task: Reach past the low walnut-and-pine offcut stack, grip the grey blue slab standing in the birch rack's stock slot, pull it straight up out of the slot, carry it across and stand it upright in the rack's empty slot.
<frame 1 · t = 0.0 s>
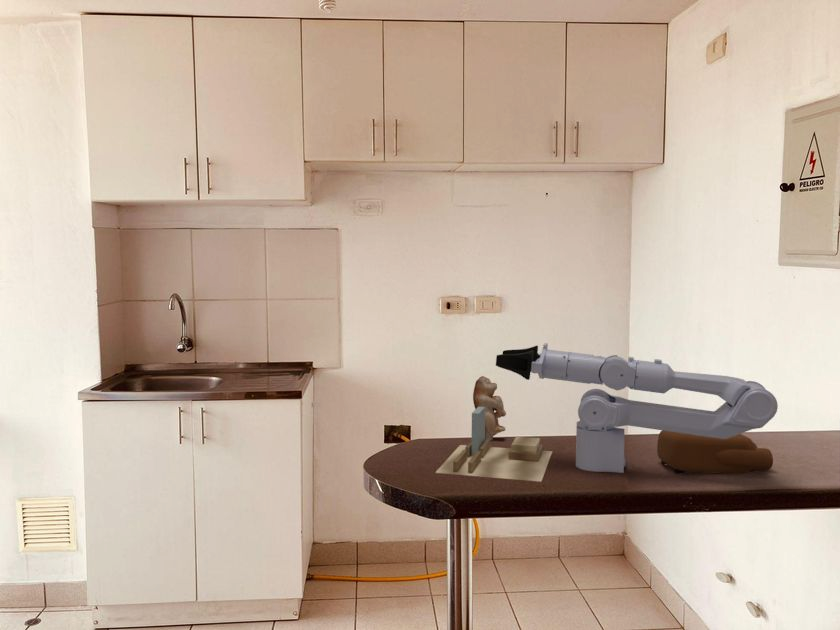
hand: (499, 357, 144), 22 cm above the table, tool horizontal, fingers open, 7 cm apart
toy: (711, 469, 143), on the table
offcut top: (525, 448, 148), point 2 cm above the table, touching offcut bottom
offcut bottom: (525, 455, 148), point 1 cm above the table, touching offcut top, rack
figurine: (489, 443, 163), on the table
rack: (496, 466, 144), on the table
grey blue slab: (478, 452, 151), point 1 cm above the table, touching rack
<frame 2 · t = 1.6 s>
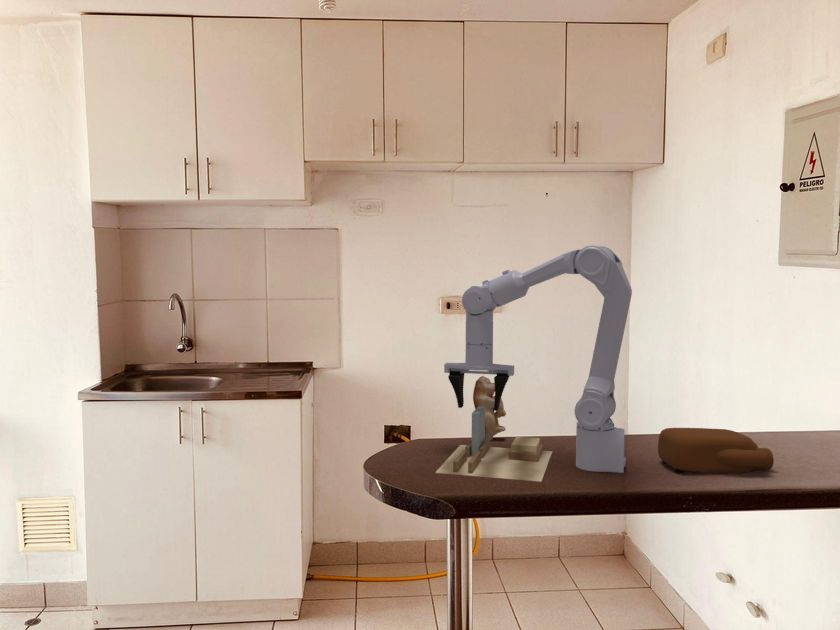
hand: (478, 408, 150), 10 cm above the table, tool pointing down, fingers open, 7 cm apart
nothing on the table moved.
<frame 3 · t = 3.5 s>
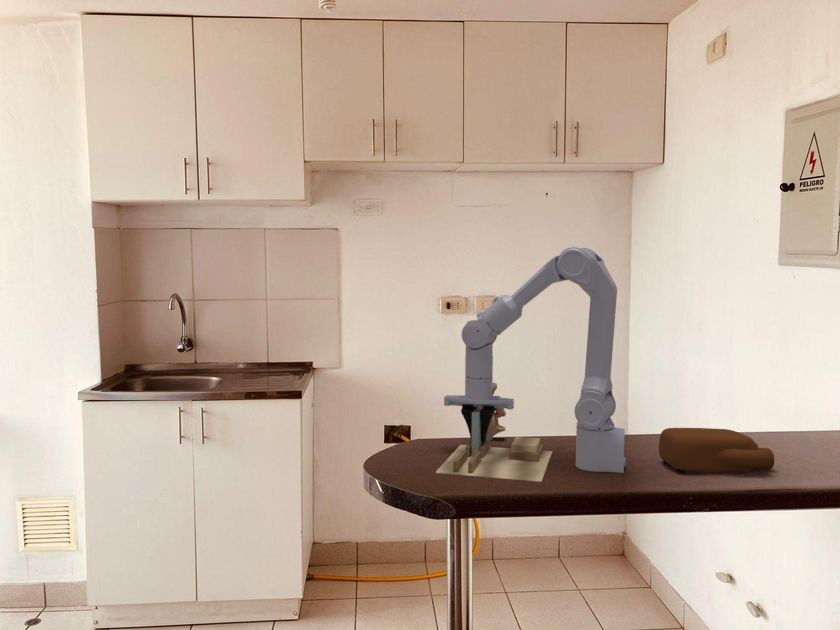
hand: (478, 440, 151), 3 cm above the table, tool pointing down, fingers closed on grey blue slab, 1 cm apart
grey blue slab: (478, 452, 151), point 1 cm above the table, touching gripper, rack
everything else where it was.
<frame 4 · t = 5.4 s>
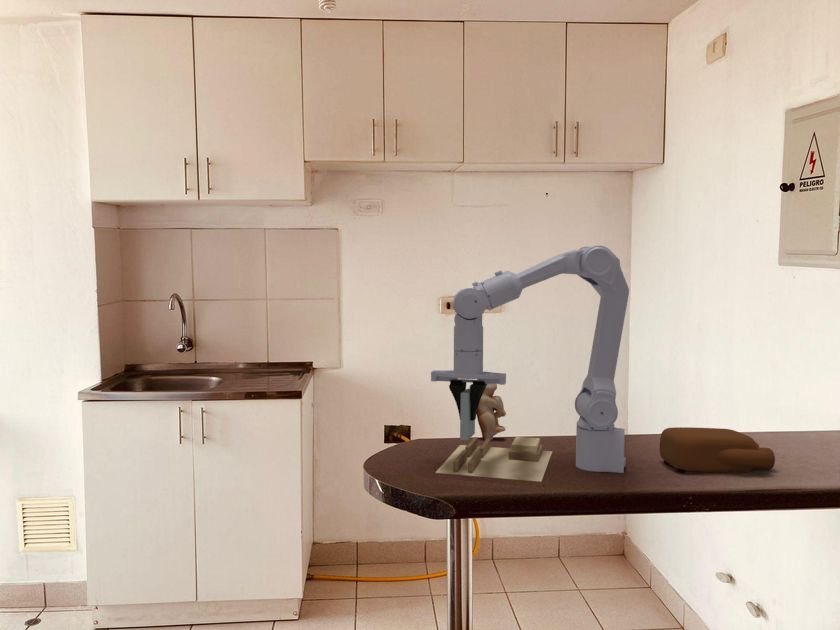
hand: (467, 419, 139), 10 cm above the table, tool pointing down, fingers closed on grey blue slab
grey blue slab: (467, 436, 140), point 7 cm above the table, touching gripper
everything else where it was.
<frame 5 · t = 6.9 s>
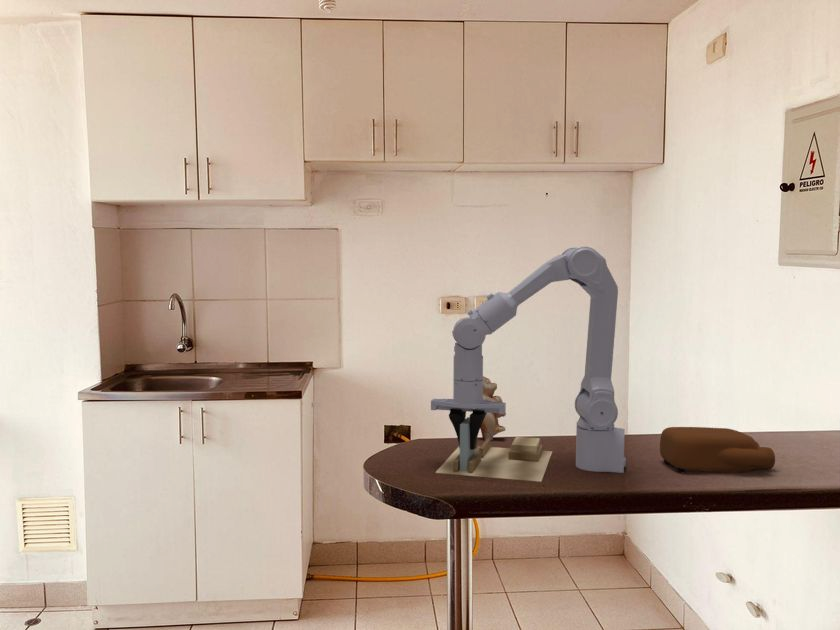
hand: (467, 448, 140), 5 cm above the table, tool pointing down, fingers closed on grey blue slab, 1 cm apart
grey blue slab: (467, 466, 140), point 1 cm above the table, touching gripper, rack
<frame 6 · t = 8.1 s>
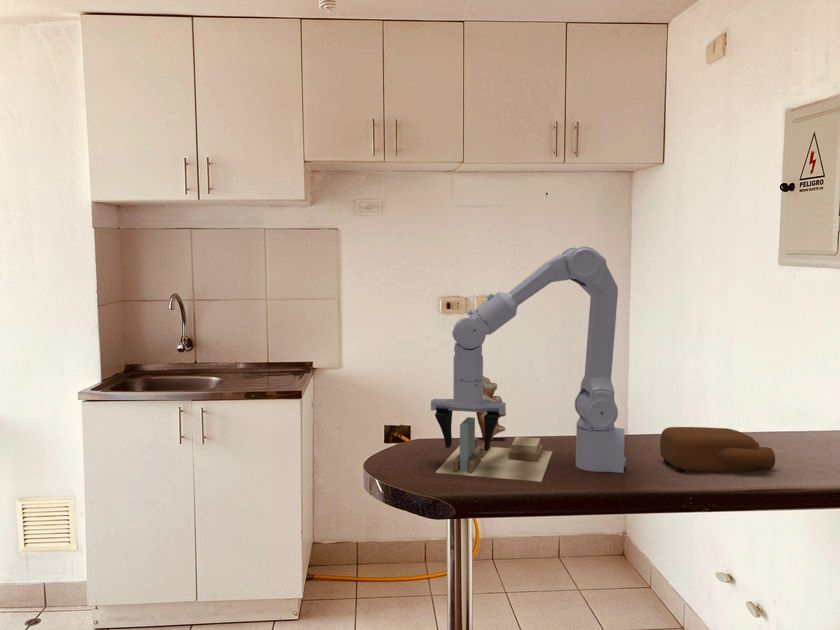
hand: (467, 448, 140), 5 cm above the table, tool pointing down, fingers open, 7 cm apart
grey blue slab: (467, 466, 140), point 1 cm above the table, touching rack
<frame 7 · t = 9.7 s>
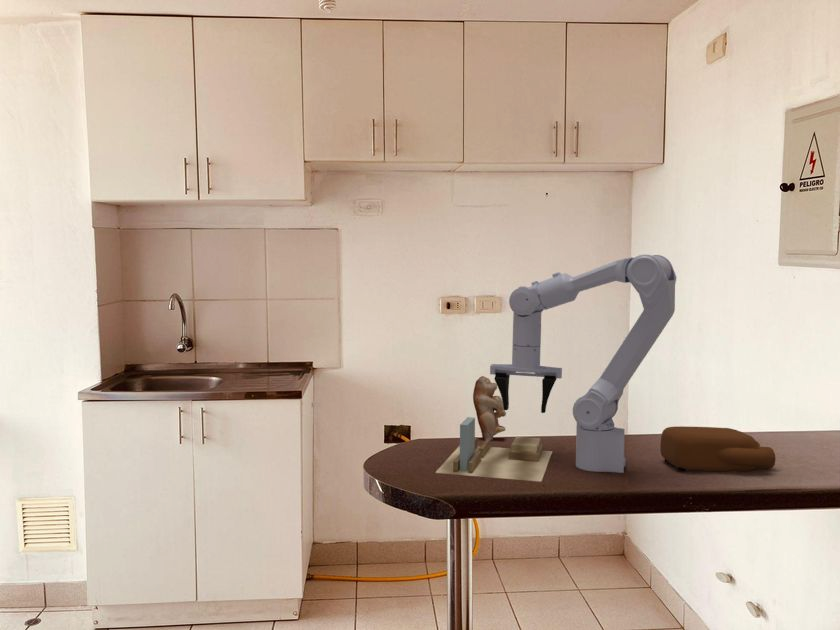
hand: (524, 410, 148), 10 cm above the table, tool pointing down, fingers open, 7 cm apart
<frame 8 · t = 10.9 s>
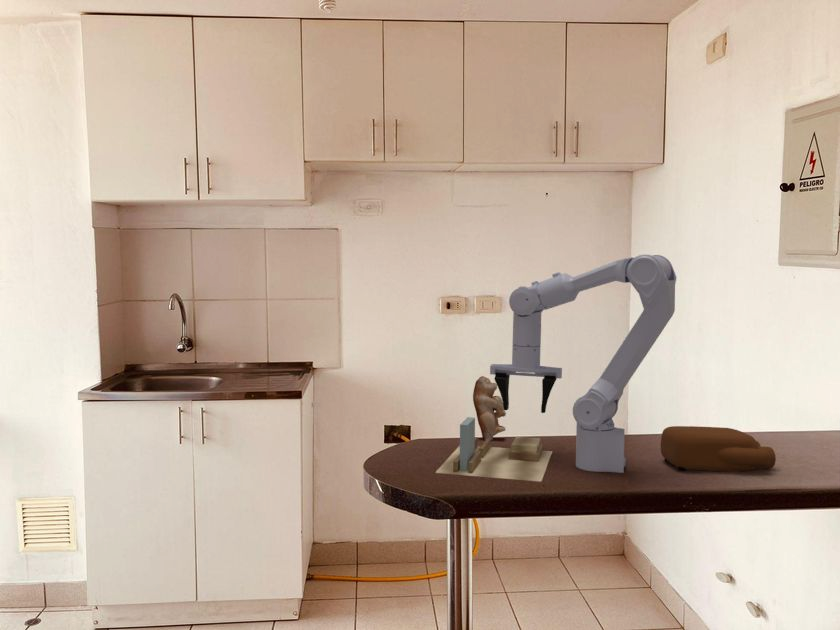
hand: (524, 410, 148), 10 cm above the table, tool pointing down, fingers open, 7 cm apart
at the end: grey blue slab 0.1 cm from the target spot, point 1.0 cm above the table; grey blue slab tilted 0°; offcut top moved 0.1 cm from its start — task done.
